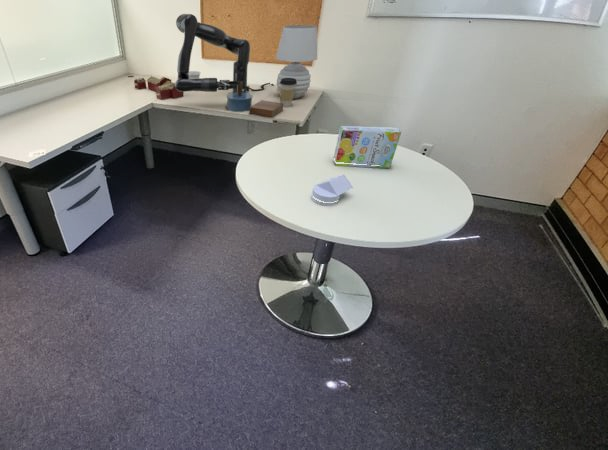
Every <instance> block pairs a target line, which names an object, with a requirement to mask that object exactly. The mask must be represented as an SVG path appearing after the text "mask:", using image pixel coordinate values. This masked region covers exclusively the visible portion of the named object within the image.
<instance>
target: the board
mask: <svg viewBox="0 0 608 450" xmlns="http://www.w3.org/2000/svg"><path fill="white" fill-rule="evenodd" d="M283 110H284V107H283V103H281V102H278V101H270V100H262V99H261V100H260V101H258V102H256V103H254V104H253V105H251V107H250V110H249V115H251V116H259V117H263V118H268V119H269V118H270V119H272V118H274V117H275V116H277V115H278V114H281V112H282V111H283Z"/></svg>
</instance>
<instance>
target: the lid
mask: <svg viewBox="0 0 608 450" xmlns="http://www.w3.org/2000/svg"><path fill="white" fill-rule="evenodd" d="M253 97H254V96H253V94H251V93H248V92H246V93H242V81H238V86H237V93H233V92H231V93H230V92H229V93H228V94H226V99H227V98H228V99H231V100H248V99H251V98H252V99H253Z"/></svg>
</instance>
